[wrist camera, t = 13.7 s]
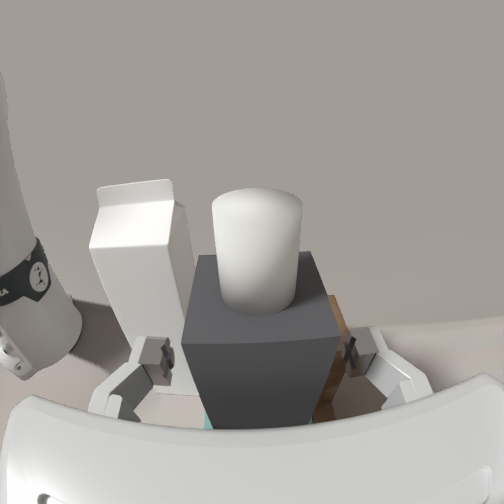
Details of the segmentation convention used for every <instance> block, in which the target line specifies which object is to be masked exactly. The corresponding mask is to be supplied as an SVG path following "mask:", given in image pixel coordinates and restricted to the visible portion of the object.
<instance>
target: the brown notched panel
mask: <svg viewBox="0 0 504 504" xmlns="http://www.w3.org/2000/svg"><path fill="white" fill-rule="evenodd" d="M327 296H328V299H329V301H330V304H331V307H332V309H333V312H334V315H335V318H336V321H337V323H338V326H339V329H340V332H341V335H342V337H341V340H340V343H339V346H338V349H337V352H336V355H335V358H334V360H333V363H332V366H331V369H330V372H329V374H328V377H327V380H326V382H325V385H324V387H323V390H322V393H321V395H320V398H319V400H318V402H317V405H316V407H315V410H314V412H313V414H312V421H313V424H314V423H321V422H328V421H333V420H335V416H334V412H333V407H332V403H331V401H332V399H333V397H334V395H335V392H336V390H337V388H338V386H339V384H340V382H341V380H342V377H343V375H344V373H345V371H346V367H345V366H346V364H347V362H346V361H345V360H344V359H343V357H342V353H341V345H342V341H343V340H344V339H345V338H346V337H345V332H346V330H347V327H346V324H345V322H344V319H343V316H342V314H341V311H340V309H339V306H338V303H337V301H336V298H335V296H334V295H327Z"/></svg>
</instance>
